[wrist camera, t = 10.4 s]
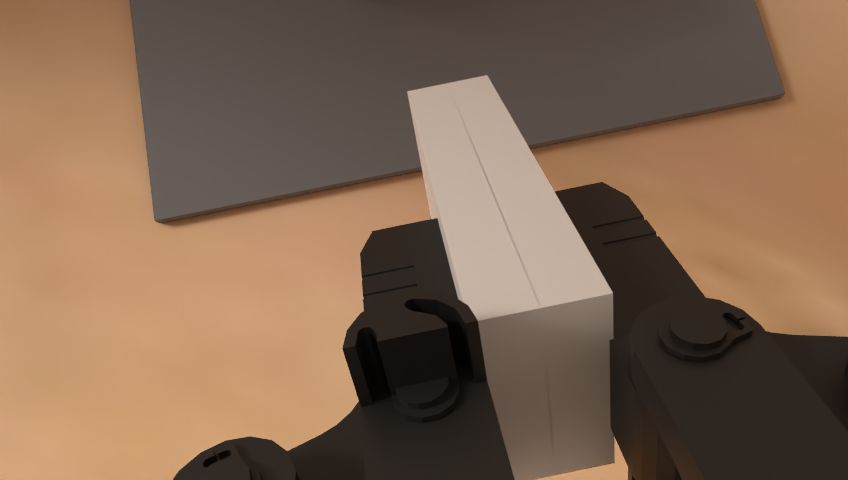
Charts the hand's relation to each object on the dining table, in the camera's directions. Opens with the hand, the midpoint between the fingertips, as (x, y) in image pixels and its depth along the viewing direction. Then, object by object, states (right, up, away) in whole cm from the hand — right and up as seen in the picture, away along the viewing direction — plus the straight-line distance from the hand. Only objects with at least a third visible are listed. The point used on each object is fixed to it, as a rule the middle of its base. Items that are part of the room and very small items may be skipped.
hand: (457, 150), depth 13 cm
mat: (-1, +10, +12) cm, 16 cm away
